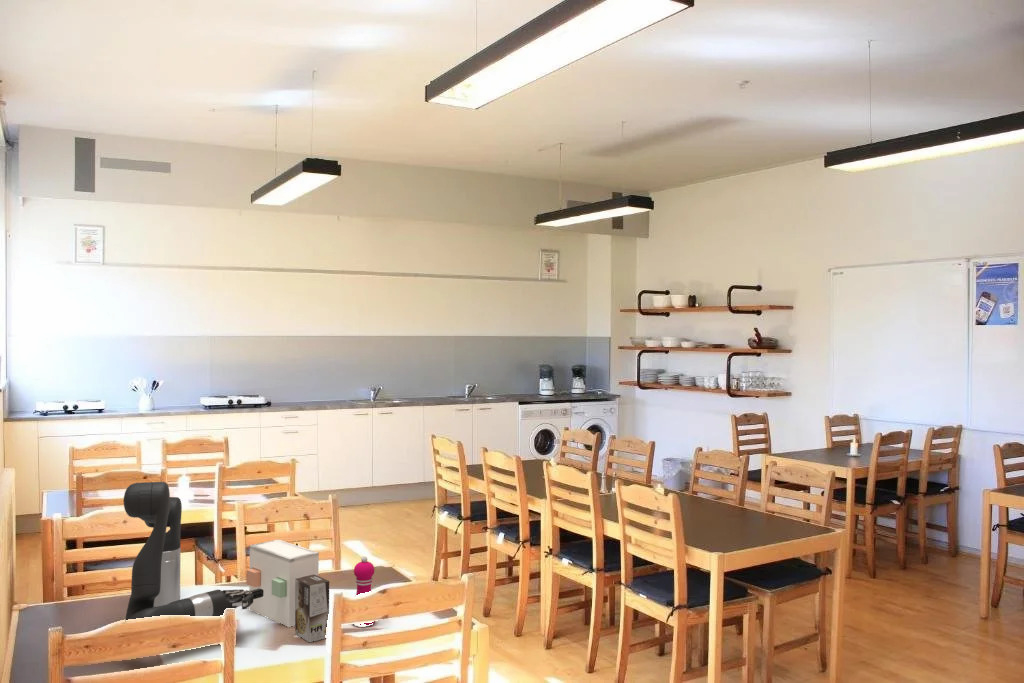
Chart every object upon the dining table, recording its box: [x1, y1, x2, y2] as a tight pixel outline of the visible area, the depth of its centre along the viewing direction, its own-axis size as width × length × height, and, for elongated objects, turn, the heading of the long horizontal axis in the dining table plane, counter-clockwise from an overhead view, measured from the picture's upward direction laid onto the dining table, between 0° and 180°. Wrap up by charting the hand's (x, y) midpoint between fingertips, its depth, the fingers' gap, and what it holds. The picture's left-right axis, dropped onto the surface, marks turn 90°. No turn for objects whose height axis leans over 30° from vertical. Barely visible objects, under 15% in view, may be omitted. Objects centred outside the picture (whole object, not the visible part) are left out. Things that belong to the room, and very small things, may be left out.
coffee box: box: [294, 574, 331, 643], centre depth 232 cm, size 9×6×16 cm
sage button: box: [272, 578, 287, 598], centre depth 240 cm, size 4×4×4 cm
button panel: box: [248, 539, 320, 628], centre depth 249 cm, size 22×10×20 cm, turn 48°
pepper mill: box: [353, 556, 375, 625], centre depth 242 cm, size 7×7×20 cm
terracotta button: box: [246, 568, 261, 587], centre depth 250 cm, size 4×4×4 cm
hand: (262, 592), depth 236 cm, fingers closed
